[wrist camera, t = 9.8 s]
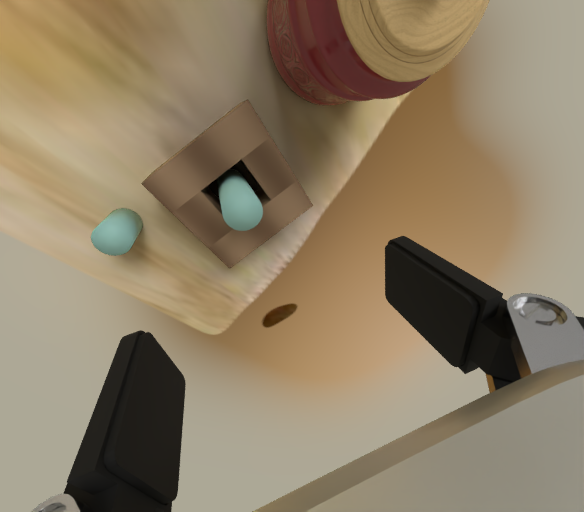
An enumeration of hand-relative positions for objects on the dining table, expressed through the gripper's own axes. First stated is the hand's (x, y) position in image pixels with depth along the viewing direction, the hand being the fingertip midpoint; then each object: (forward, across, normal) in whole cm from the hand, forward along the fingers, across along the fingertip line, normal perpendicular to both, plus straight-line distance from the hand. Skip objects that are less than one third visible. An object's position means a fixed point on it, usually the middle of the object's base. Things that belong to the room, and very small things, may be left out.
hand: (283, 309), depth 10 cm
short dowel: (+24, +13, +1) cm, 27 cm away
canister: (+24, -14, -12) cm, 31 cm away
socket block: (+24, 0, 0) cm, 24 cm away
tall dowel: (+24, 0, 0) cm, 24 cm away
